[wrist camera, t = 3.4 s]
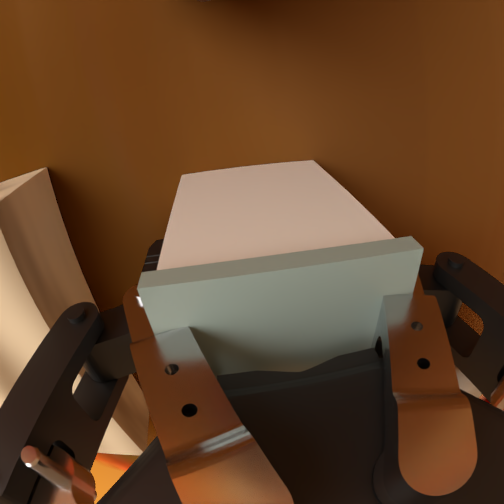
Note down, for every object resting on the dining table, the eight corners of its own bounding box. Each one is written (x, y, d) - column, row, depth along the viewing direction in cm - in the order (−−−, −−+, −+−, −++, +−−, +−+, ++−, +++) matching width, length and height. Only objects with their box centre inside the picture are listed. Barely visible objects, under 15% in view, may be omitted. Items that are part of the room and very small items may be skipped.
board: (46, 167, 10) (-8, 207, 7) (150, 403, 19) (146, 455, 15) (-74, 214, 10) (-115, 252, 6) (37, 399, 18) (25, 441, 15)
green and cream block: (317, 155, 12) (423, 248, 6) (316, 270, 14) (376, 399, 8) (175, 170, 11) (137, 288, 5) (198, 286, 14) (198, 430, 8)
